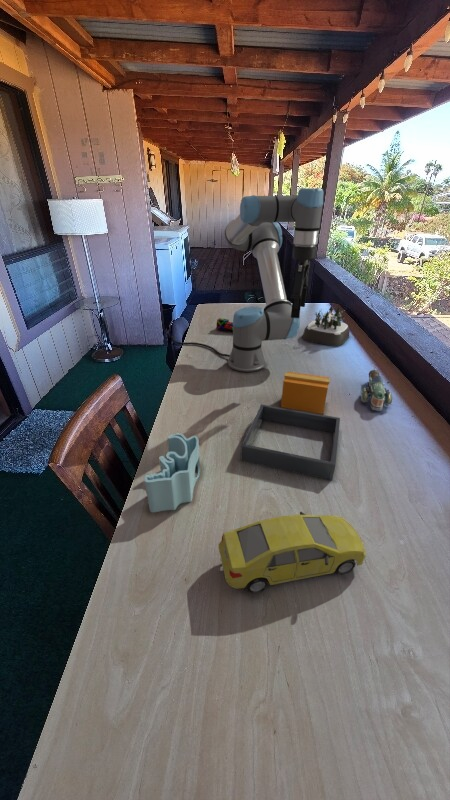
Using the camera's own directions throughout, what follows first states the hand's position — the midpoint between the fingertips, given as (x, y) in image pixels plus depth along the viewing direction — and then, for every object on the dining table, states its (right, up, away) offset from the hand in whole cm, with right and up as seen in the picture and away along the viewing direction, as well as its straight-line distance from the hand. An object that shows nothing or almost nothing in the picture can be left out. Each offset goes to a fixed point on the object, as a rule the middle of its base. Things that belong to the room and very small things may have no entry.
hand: (298, 311), depth 121 cm
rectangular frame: (-6, -44, -21) cm, 49 cm away
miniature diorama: (+25, +1, +53) cm, 58 cm away
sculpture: (-15, +5, +60) cm, 62 cm away
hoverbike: (+28, -29, +4) cm, 40 cm away
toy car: (-12, -63, -52) cm, 83 cm away
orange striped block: (+1, -32, -2) cm, 32 cm away
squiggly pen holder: (-37, -52, -34) cm, 72 cm away
